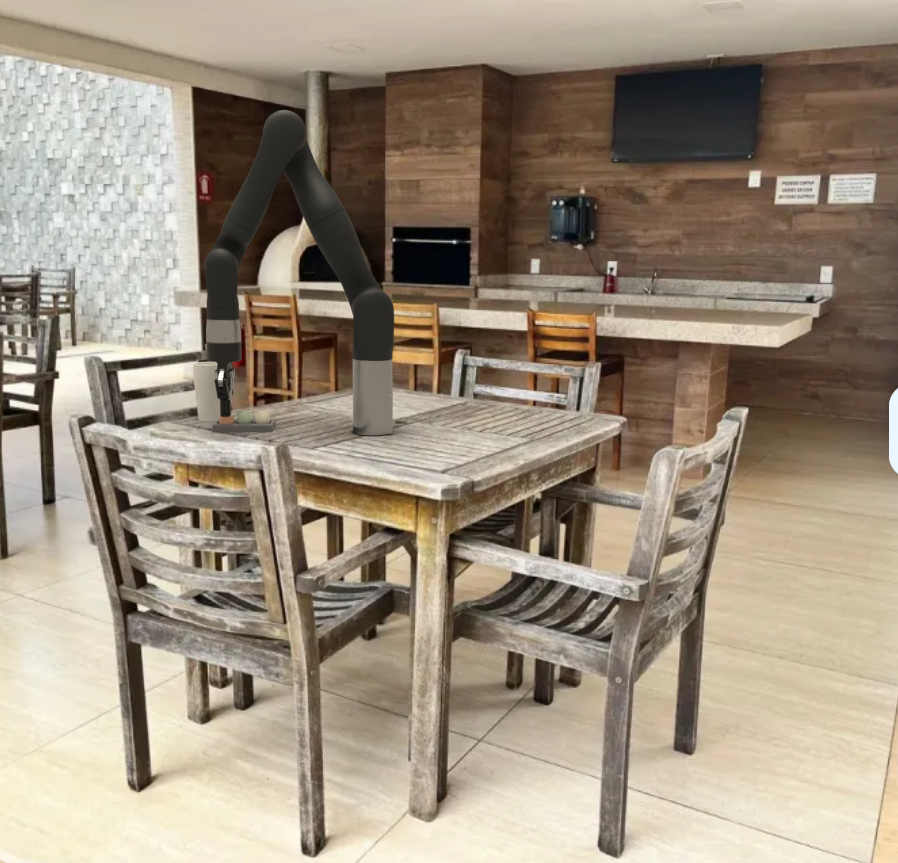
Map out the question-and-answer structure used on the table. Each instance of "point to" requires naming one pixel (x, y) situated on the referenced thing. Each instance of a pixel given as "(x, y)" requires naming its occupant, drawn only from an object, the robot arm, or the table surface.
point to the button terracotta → (226, 420)
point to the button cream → (262, 417)
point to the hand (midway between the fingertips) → (225, 416)
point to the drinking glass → (206, 391)
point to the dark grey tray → (244, 427)
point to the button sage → (244, 417)
